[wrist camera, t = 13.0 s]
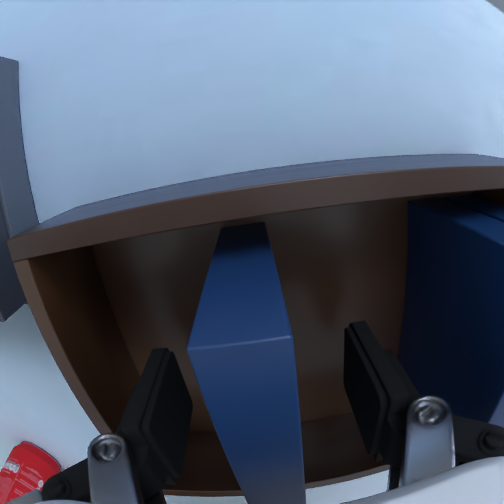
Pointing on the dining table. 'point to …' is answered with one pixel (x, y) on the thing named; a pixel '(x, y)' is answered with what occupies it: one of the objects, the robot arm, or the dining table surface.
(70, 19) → the dining table surface
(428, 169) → the book box
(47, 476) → the beverage can
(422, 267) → the blue books
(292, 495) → the blue book
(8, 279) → the grey books
